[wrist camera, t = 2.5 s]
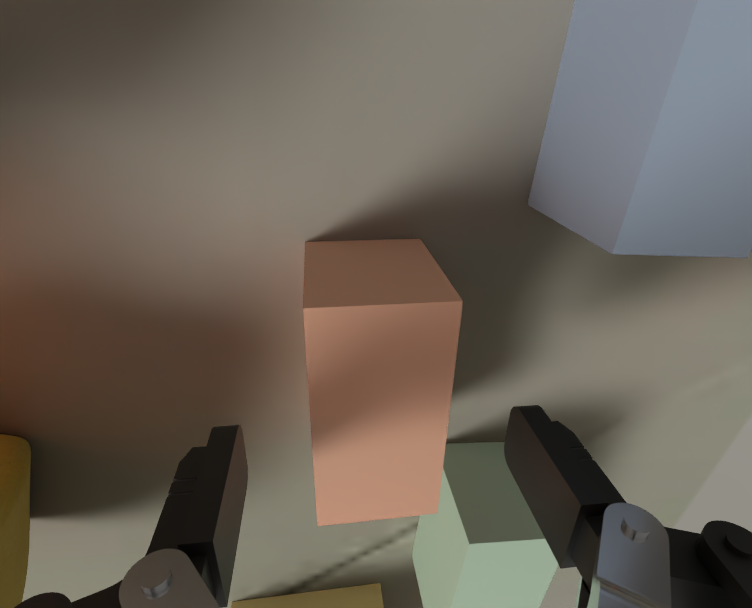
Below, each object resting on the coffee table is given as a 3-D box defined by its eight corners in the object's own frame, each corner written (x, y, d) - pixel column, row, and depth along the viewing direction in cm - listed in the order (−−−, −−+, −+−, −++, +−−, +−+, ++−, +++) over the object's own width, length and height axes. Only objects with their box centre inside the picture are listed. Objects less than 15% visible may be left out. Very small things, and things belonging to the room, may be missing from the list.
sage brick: (434, 442, 20) (469, 543, 16) (515, 439, 21) (570, 537, 16) (411, 552, 24) (434, 660, 19) (481, 547, 24) (519, 651, 20)
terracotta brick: (305, 240, 15) (303, 308, 11) (419, 237, 15) (462, 300, 11) (315, 420, 19) (317, 526, 14) (408, 413, 19) (437, 513, 15)
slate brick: (593, -90, 12) (762, -188, 7) (721, -69, 12) (946, -149, 8) (525, 204, 15) (611, 254, 11) (627, 208, 16) (747, 257, 12)
